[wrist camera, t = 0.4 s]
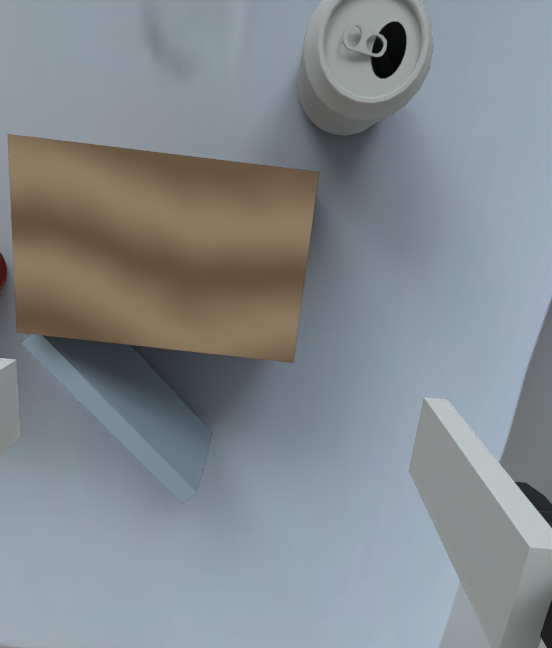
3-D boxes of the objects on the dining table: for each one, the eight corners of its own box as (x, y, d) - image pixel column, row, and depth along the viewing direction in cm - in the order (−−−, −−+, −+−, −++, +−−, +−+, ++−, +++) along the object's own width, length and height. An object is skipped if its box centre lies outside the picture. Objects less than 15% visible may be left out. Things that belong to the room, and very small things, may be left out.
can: (373, 148, 38) (415, 132, 27) (285, 121, 38) (288, 94, 26) (405, 48, 36) (464, -15, 25) (312, 18, 36) (328, -60, 24)
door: (78, 289, 41) (24, 317, 32) (212, 433, 45) (197, 493, 36) (57, 307, 41) (-1, 339, 32) (192, 448, 45) (172, 510, 36)
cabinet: (88, 148, 38) (7, 134, 27) (307, 175, 39) (319, 171, 27) (88, 291, 42) (16, 332, 30) (289, 313, 42) (293, 362, 31)
